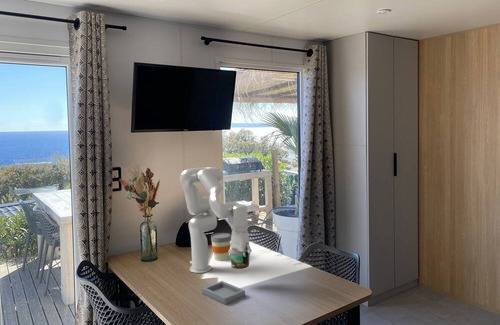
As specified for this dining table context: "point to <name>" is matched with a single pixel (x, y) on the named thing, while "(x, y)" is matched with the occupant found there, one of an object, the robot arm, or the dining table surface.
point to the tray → (223, 292)
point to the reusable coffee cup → (221, 246)
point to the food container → (238, 259)
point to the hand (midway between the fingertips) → (240, 261)
